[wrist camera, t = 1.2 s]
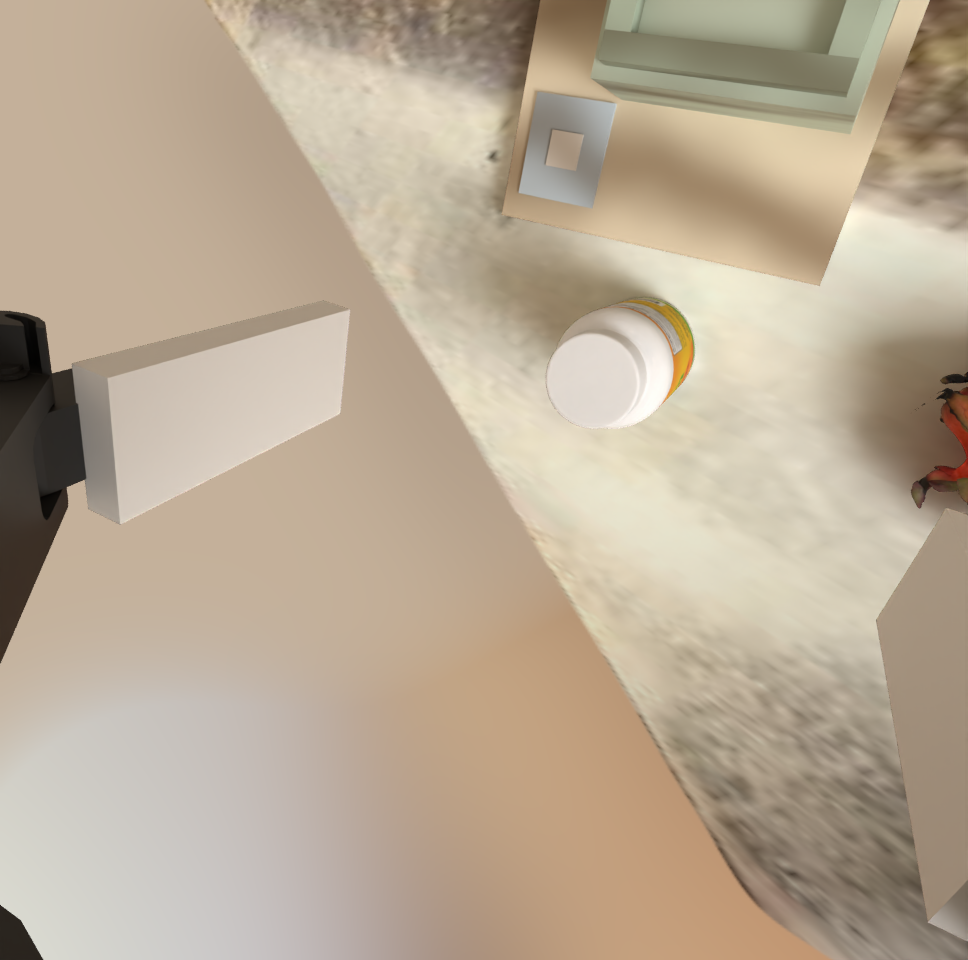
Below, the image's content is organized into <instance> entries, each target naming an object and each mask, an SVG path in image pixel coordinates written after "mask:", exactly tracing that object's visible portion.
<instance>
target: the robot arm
mask: <svg viewBox="0 0 968 960" xmlns="http://www.w3.org/2000/svg"><path fill="white" fill-rule="evenodd" d="M349 317H350V309H348V308H345V307H342V306H339V305H336V304H333V303H330V302H327V301H320V302H316V303H312V304H308V305H304V306H300V307H296V308H292V309H288V310H284V311H280V312H276V313H272V314H268V315H264V316H260V317H256V318H252V319H248V320H244V321H240V322H235V323H231V324H228V325H223V326H220V327H216V328H211V329H208V330H204V331H200V332H195V333H192V334H188V335H183V336H180V337H175V338H172V339H168V340H163V341H159V342H156V343H151V344H147V345H144V346H140V347H135V348H132V349H127V350H123V351H120V352H116V353H111V354H107V355H103V356H100V357H95V358H91V359H87V360H83V361H79V362H76V363H72V369H68V370H64V371H60V372H56V373H52V371H51V364H50V356H49V349H48V341H47V333H46V325H45V322H44V321H42V320H41V319H40V318H38V317H35V316H32V315H29V314H25V313H19V312H12V311H0V663H1V661H2V659H3V656H4V654H5V652H6V649H7V647H8V644H9V642H10V640H11V638H12V635H13V633H14V631H15V628H16V626H17V624H18V621H19V619H20V617H21V614H22V612H23V610H24V607H25V605H26V603H27V600H28V598H29V596H30V593H31V591H32V589H33V587H34V584H35V582H36V580H37V577H38V575H39V573H40V570H41V568H42V566H43V563H44V561H45V559H46V556H47V554H48V552H49V549H50V547H51V545H52V542H53V540H54V538H55V536H56V533H57V531H58V529H59V526H60V524H61V522H62V519H63V517H64V515H65V512H66V510H67V508H68V495H67V487H68V486H71V485H73V484H75V483H78V482H80V481H83V480H85V485H86V494H87V503H88V509H89V510H91V511H93V512H95V513H97V514H100V515H102V516H104V517H105V518H108V519H110V520H112V521H114V522H116V523H118V524H123V523H125V522H127V521H129V520H130V519H133V518H135V517H137V516H138V515H141V514H143V513H144V512H147V511H149V510H151V509H153V508H154V507H156V506H158V505H160V504H162V503H164V502H166V501H168V500H170V499H172V498H174V497H176V496H178V495H180V494H182V493H184V492H186V491H188V490H190V489H192V488H194V487H196V486H198V485H200V484H202V483H204V482H206V481H208V480H210V479H212V478H214V477H216V476H218V475H220V474H222V473H224V472H226V471H228V470H230V469H232V468H234V467H236V466H238V465H240V464H242V463H244V462H246V461H247V460H250V459H251V458H254V457H256V456H257V455H259V454H261V453H264V452H265V451H267V450H269V449H271V448H273V447H275V446H277V445H279V444H281V443H283V442H285V441H287V440H289V439H291V438H293V437H295V436H297V435H299V434H301V433H303V432H305V431H307V430H309V429H311V428H313V427H315V426H317V425H319V424H321V423H323V422H325V421H327V420H329V419H331V418H333V417H335V416H337V415H339V414H340V411H341V401H342V390H343V379H344V370H345V359H346V349H347V348H346V347H347V338H348V327H349ZM876 622H877V628H878V634H879V640H880V645H881V651H882V657H883V663H884V669H885V675H886V680H887V686H888V692H889V698H890V704H891V710H892V716H893V721H894V727H895V733H896V739H897V745H898V751H899V757H900V762H901V768H902V774H903V780H904V786H905V792H906V798H907V803H908V809H909V815H910V821H911V827H912V833H913V839H914V844H915V850H916V856H917V862H918V868H919V874H920V879H921V885H922V891H923V897H924V903H925V909H926V915H927V920H928V923H930V924H932V925H934V926H936V927H938V928H940V929H942V930H945V931H947V932H949V933H951V934H953V935H955V936H957V937H959V938H961V939H963V940H965V941H967V942H968V515H967V514H964V513H961V512H958V511H955V510H952V509H949V508H946V509H945V511H944V512H943V514H942V516H941V517H940V519H939V520H938V522H937V524H936V525H935V527H934V528H933V530H932V532H931V533H930V535H929V536H928V538H927V540H926V541H925V543H924V544H923V546H922V548H921V549H920V551H919V552H918V554H917V556H916V557H915V559H914V560H913V562H912V564H911V565H910V567H909V568H908V570H907V572H906V573H905V575H904V576H903V578H902V580H901V581H900V583H899V584H898V586H897V588H896V589H895V591H894V592H893V594H892V596H891V597H890V599H889V600H888V602H887V604H886V605H885V607H884V609H883V610H882V612H881V613H880V615H879V617H878V618H877V620H876ZM0 960H43V959H42V957H41V955H40V953H39V952H38V950H37V948H36V946H35V944H34V943H33V941H32V939H31V938H30V936H29V934H28V932H27V930H26V929H25V927H24V925H23V923H22V922H21V920H20V919H18V918H17V917H16V916H14V915H13V914H11V913H10V912H9V911H7V910H6V909H5V908H3V907H2V906H1V905H0Z"/></svg>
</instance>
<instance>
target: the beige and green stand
mask: <svg viewBox="0 0 968 960" xmlns="http://www.w3.org/2000/svg"><path fill="white" fill-rule="evenodd" d="M929 1H930V0H540V5H539V10H538V16H537V22H536V27H535V33H534V38H533V44H532V49H531V55H530V60H529V66H528V72H527V77H526V83H525V88H524V94H523V99H522V105H521V110H520V116H519V122H518V127H517V133H516V138H515V144H514V149H513V155H512V160H511V166H510V172H509V177H508V183H507V188H506V194H505V199H504V205H503V210H502V215H506V216H510V217H515V218H519V219H523V220H528V221H532V222H537V223H541V224H546V225H550V226H555V227H559V228H564V229H568V230H573V231H577V232H581V233H586V234H590V235H595V236H599V237H604V238H608V239H613V240H617V241H622V242H626V243H631V244H635V245H639V246H644V247H648V248H653V249H657V250H662V251H666V252H671V253H675V254H680V255H684V256H689V257H693V258H697V259H702V260H706V261H711V262H715V263H720V264H724V265H729V266H733V267H738V268H742V269H746V270H751V271H755V272H760V273H764V274H769V275H773V276H778V277H782V278H787V279H791V280H796V281H800V282H804V283H809V284H813V285H818V286H820V283H821V281H822V278H823V276H824V273H825V270H826V268H827V265H828V263H829V260H830V258H831V255H832V252H833V250H834V247H835V245H836V242H837V239H838V237H839V234H840V232H841V229H842V226H843V224H844V221H845V219H846V216H847V213H848V211H849V208H850V206H851V203H852V200H853V198H854V195H855V193H856V190H857V187H858V185H859V182H860V180H861V177H862V174H863V172H864V169H865V167H866V164H867V161H868V159H869V156H870V154H871V151H872V148H873V146H874V143H875V141H876V138H877V136H878V133H879V130H880V128H881V125H882V123H883V120H884V117H885V115H886V112H887V110H888V107H889V104H890V102H891V99H892V97H893V94H894V91H895V89H896V86H897V84H898V81H899V78H900V76H901V73H902V71H903V68H904V65H905V63H906V60H907V58H908V55H909V52H910V50H911V47H912V45H913V42H914V39H915V37H916V34H917V32H918V29H919V26H920V24H921V21H922V19H923V16H924V14H925V11H926V8H927V6H928V3H929Z"/></svg>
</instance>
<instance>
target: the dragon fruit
mask: <svg viewBox="0 0 968 960" xmlns="http://www.w3.org/2000/svg"><path fill="white" fill-rule="evenodd" d="M940 381H941V382H942V383H943V384H948V383H966V382H968V372H967V373H966V374H965V375H964V376H962V375H960V374H952V375H948V376H946V377H943V378H942V379H941V380H940ZM943 391H945V392H944V393H943V394H941V395H940V396H939V397H937V398H936V399H940V398H941V399H945V400H946V403H945V404H943V406H942V408H941V415H942V416H941V418H940V421H941V422H944V423H945V424H946V426H947V427H948V428H949V429H950V430H951V431H952V432H953V434H954V435H955V436H956V437H957V438H958V440H959V441H960V443H961V444H962V446H963V448H964V450H965V453H966V456H967V459H966V461H965V462H964V463H963V464H962V465H961V466H960V467H958V468H952V467H948V466H936V467H934V468H935V469H937V468H938V469H937V470H934V471H932V472H930V473H929V474H928V475H927V476H926V477H924V478H923V479H921V480H920V481H919V482H918V481H916V482H915V483H914V484H913V486H912V490H911V494H912V497H913V499H914V500H915V503H916V505H917V507H918V508H921V505H922V503H923V502H924V500H925V495H926V492H927V490H928V489H929V488H931V487H933V488H934V489H935V490H937V491H939V492H953V491H957V490H959V494H960V496H961V497H962V499H963V500H964V501H965V502H967V504H968V387H966V388H964V389H962V390H961V391H953V390H951V389H949V388H946V389H944V390H943ZM943 391H940V392H943ZM938 393H939V392H938ZM936 394H937V393H936ZM930 398H931V397H930ZM936 399H935V400H936ZM933 401H934V400H933ZM923 405H925V403H924V404H923ZM921 406H922V405H921ZM916 409H917V408H916ZM918 409H919V408H918Z"/></svg>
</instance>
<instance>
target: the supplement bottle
mask: <svg viewBox="0 0 968 960" xmlns="http://www.w3.org/2000/svg"><path fill="white" fill-rule="evenodd" d="M694 357H695V339H694V335H693V332H692V329H691V327H690V325H689V323H688V321H687V319H686V318H685V317H684V315H683V314H682V313H681V312H680V311H679V310H678V309H677V308H675V307H674V306H672V305H671V304H669V303H667V302H665V301H662V300H659V299H655V298H648V297H642V298H633V299H629V300H625V301H622V302H619V303H616V304H613V305H610V306H607V307H604V308H601V309H597V310H595V311H592V312H590V313H588V314H586V315H584V316H583V317H581V318H579V319H578V320H577V321H575V322H574V323H573V324H572V325H571V326H570V327H569V328H568V329H567V330H566V332H565V333H564V334H563V336H562V337H561V339H560V341H559V343H558V345H557V348H556V350H555V352H554V353H553V355H552V356H551V358H550V361H549V363H548V366H547V371H546V388H547V392H548V395H549V398H550V400H551V402H552V404H553V406H554V408H555V409H556V410H557V411H558V413H559V414H560V415H561V416H562V417H564V418H565V419H566V420H568V421H569V422H571V423H573V424H575V425H577V426H580V427H584V428H593V429H596V428H610V429H614V428H624V427H628V426H631V425H634V424H636V423H639V422H641V421H642V420H644V419H646V418H647V417H649V416H650V415H651V414H652V413H653V412H655V411H656V410H657V409H658V408H659V407H660V406H661V405H662V404H663V403H664V402H665V401H666V399H668V398H669V396H670V395H671V394H672V393H673V392H674V391H675V390H676V389H677V388H678V387H679V386H680V385H681V384H682V383H683V381H684V380H685V378H686V377H687V375H688V374H689V372H690V370H691V367H692V365H693V362H694Z"/></svg>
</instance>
